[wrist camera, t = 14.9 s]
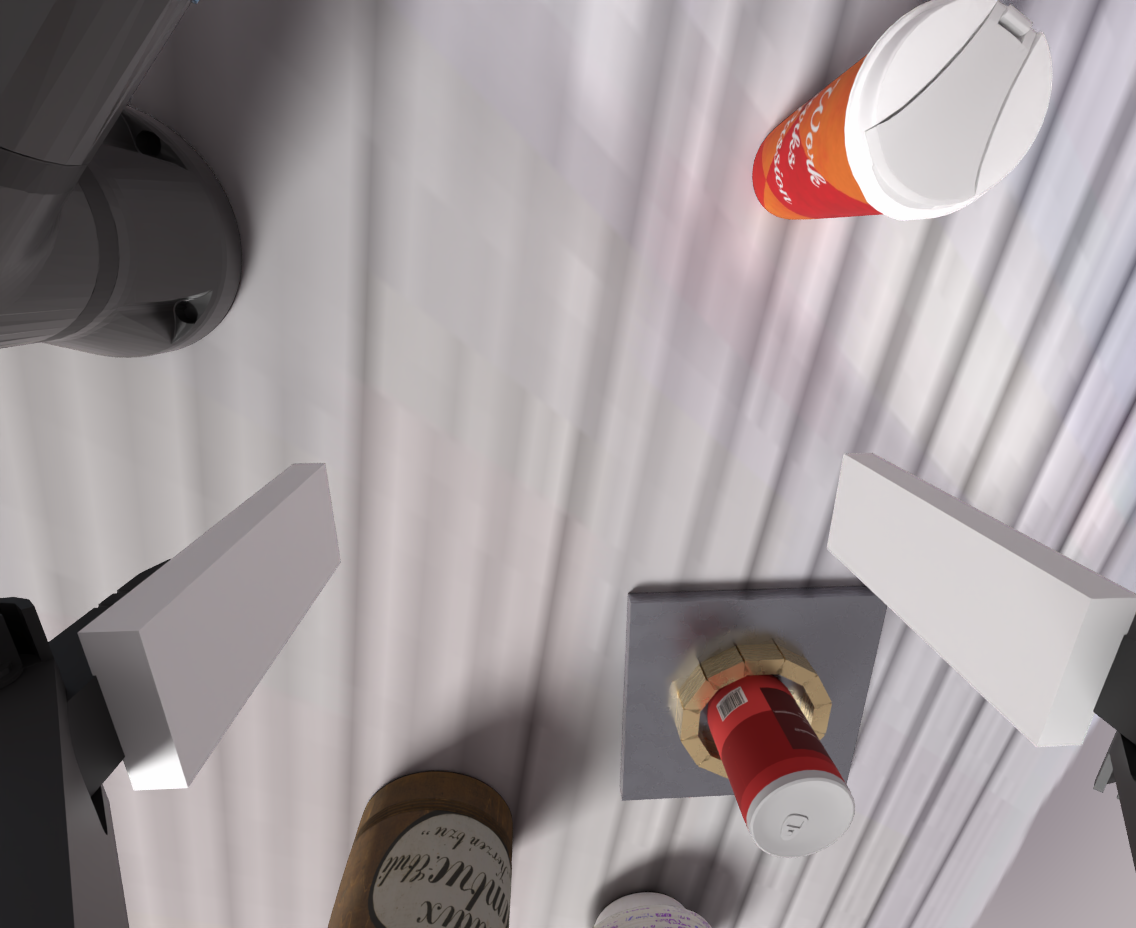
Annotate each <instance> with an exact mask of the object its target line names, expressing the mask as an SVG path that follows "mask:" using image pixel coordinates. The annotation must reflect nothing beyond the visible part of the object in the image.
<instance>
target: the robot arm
mask: <svg viewBox="0 0 1136 928" xmlns="http://www.w3.org/2000/svg"><path fill="white" fill-rule="evenodd" d="M198 1H199V0H0V348H6V347H13V346H19V345H26V344H32V343H39V342H42V343H47V344H51V345H56V346H60V347H65V348H69V349H74V350H79V351H83V352H88V353H92V354H97V355H102V356H109V357H127V358H131V357H144V356H151V355H155V354H160V353H165V352H170V351H174V350H178V349H181V348H184V347H186V346H189V345H191V344H193V343H195V342H197V341H198V340H200V339H202V338H203V337H205V336H206V335H207V334H209V333H210V332H211V331H212V330H213V329H214V328H215V327H216V326H217V325H218V324H219V323H220V322H221V320H222V319H223V318H224V317H225V315H226V313H227V312H228V310H229V309H230V307H231V305H232V303H233V300H234V298H235V295H236V292H237V289H238V285H239V281H240V275H241V265H242V253H241V242H240V236H239V231H238V227H237V223H236V219H235V216H234V213H233V211H232V208H231V205H230V203H229V201H228V199H227V196H226V194H225V193H224V191H223V189H222V187H221V185H220V183H219V182H218V180H217V178H216V177H215V175H214V174H213V173H212V171H211V170H210V168H209V167H208V166H207V164H206V163H205V162H204V161H203V159H202V158H201V157H200V156H199V155H198V154H197V152H196V151H195V150H194V149H193V148H192V147H191V146H190V145H189V144H188V143H186V142H185V141H184V140H183V139H182V138H181V137H180V136H179V135H177V134H176V133H175V132H174V131H172V130H171V129H170V128H168V127H167V126H165V125H164V124H162V123H161V122H159V121H158V120H156V119H154V118H153V117H151V116H149V115H147V114H145V113H143V112H141V111H139V110H137V109H134V108H132V107H129V106H127V103H128V101H129V100H130V98H131V97H132V95H133V93H134V92H135V90H136V89H137V87H138V86H139V84H140V82H141V81H142V79H143V78H144V76H145V74H146V73H147V71H148V70H149V68H150V66H151V65H152V63H153V62H154V60H155V59H156V57H157V55H158V54H159V52H160V51H161V49H162V47H163V46H164V44H165V43H166V41H167V40H168V38H169V36H170V35H171V33H172V32H173V30H174V28H175V27H176V25H177V24H178V22H179V20H180V19H181V17H182V16H183V14H184V13H185V11H186V9H187V8H188V6H189V5H190V3H191V2H192V3H195V4H197V3H198ZM827 549H828V550H829V551H830V552H831V553H832V554H833V555H834V556H835V557H836V558H837V559H838V560H839V561H841V562H842V563H843V564H844V565H845V566H846V567H847V568H848V569H849V570H850V571H851V572H852V573H853V574H854V575H855V576H856V577H857V578H858V579H860V580H861V581H862V582H863V583H864V584H865V585H866V586H867V587H868V588H869V589H870V590H871V591H872V592H873V593H874V594H875V595H876V596H877V597H879V598H880V599H881V600H882V601H883V602H884V603H885V604H886V605H887V606H888V607H889V608H890V609H891V610H892V611H893V612H894V613H895V614H896V615H897V616H899V617H900V618H901V619H902V620H903V621H904V622H905V623H906V624H907V625H908V626H909V627H910V628H911V629H912V630H913V631H914V632H915V633H916V634H918V635H919V636H920V637H921V638H922V639H923V640H924V641H925V642H926V643H927V644H928V645H929V646H930V647H931V648H932V649H933V650H934V651H935V652H937V653H938V654H939V655H940V656H941V657H942V658H943V659H944V660H945V661H946V662H947V663H948V664H949V665H950V666H951V667H952V668H953V669H954V670H956V671H957V672H958V673H959V674H960V675H961V676H962V677H963V678H964V679H965V680H966V681H967V682H968V683H969V684H970V685H971V686H972V687H973V688H975V689H976V690H977V691H978V692H979V693H980V694H981V695H982V696H983V697H984V698H985V699H986V700H987V701H988V702H989V703H990V704H991V705H992V706H994V707H995V708H996V709H997V710H998V711H999V712H1000V713H1001V714H1002V715H1003V716H1004V717H1005V718H1006V719H1007V720H1008V721H1009V722H1010V723H1011V724H1013V725H1014V726H1015V727H1016V728H1017V729H1018V730H1019V731H1020V732H1021V733H1022V734H1023V735H1024V736H1025V737H1026V738H1027V739H1028V740H1029V741H1030V742H1031V743H1033V744H1034V745H1035V746H1036V747H1049V746H1070V745H1082V743H1083V741H1084V738H1085V736H1086V733H1087V731H1088V729H1089V726H1090V724H1091V721H1092V719H1093V716H1094V714H1095V713H1096V714H1097V715H1098V716H1099V717H1101V718H1102V719H1103V720H1104V721H1106V722H1107V723H1109V724H1110V725H1111V726H1112V727H1113V728H1115V729H1116V730H1117V731H1116V733H1115V736H1114V738H1113V740H1112V743H1111V745H1110V747H1109V750H1108V752H1107V754H1106V757H1105V759H1104V761H1103V764H1102V766H1101V768H1100V770H1099V773H1098V775H1097V777H1096V780H1095V784H1094V788H1093V789H1095V790H1097V791H1100V792H1102V793H1103V791H1104V789H1105V787H1106V784H1110V783H1114V782H1116V785H1117V790H1118V795H1117V799H1119V800H1120V803H1121V808H1122V812H1123V817H1124V821H1125V826H1126V830H1127V835H1128V839H1129V844H1130V848H1131V853H1132V857H1133V862H1134V866H1135V870H1136V594H1135V593H1133V592H1131V591H1129V590H1128V589H1126V588H1124V587H1122V586H1120V585H1118V584H1116V583H1115V582H1113V581H1111V580H1109V579H1107V578H1105V577H1103V576H1101V575H1100V574H1098V573H1096V572H1094V571H1092V570H1090V569H1088V568H1086V567H1085V566H1083V565H1081V564H1079V563H1077V562H1075V561H1073V560H1072V559H1070V558H1068V557H1066V556H1064V555H1062V554H1060V553H1058V552H1057V551H1055V550H1053V549H1051V548H1049V547H1047V546H1045V545H1043V544H1042V543H1040V542H1038V541H1036V540H1034V539H1032V538H1030V537H1029V536H1027V535H1025V534H1023V533H1021V532H1019V531H1017V530H1015V529H1014V528H1012V527H1010V526H1008V525H1006V524H1004V523H1002V522H1000V521H999V520H997V519H995V518H993V517H991V516H989V515H987V514H986V513H984V512H982V511H980V510H978V509H976V508H974V507H972V506H971V505H969V504H967V503H965V502H963V501H961V500H959V499H957V498H956V497H954V496H952V495H950V494H948V493H946V492H944V491H943V490H941V489H939V488H937V487H935V486H933V485H931V484H929V483H928V482H926V481H924V480H922V479H920V478H918V477H916V476H914V475H913V474H911V473H909V472H907V471H905V470H903V469H901V468H900V467H898V466H896V465H894V464H892V463H890V462H888V461H886V460H885V459H883V458H881V457H879V456H877V455H875V454H873V453H846V454H844V455H843V461H842V466H841V472H840V478H839V483H838V489H837V494H836V500H835V506H834V511H833V517H832V523H831V528H830V534H829V539H828V545H827ZM340 563H341V559H340V553H339V547H338V540H337V534H336V528H335V521H334V515H333V509H332V502H331V496H330V490H329V484H328V477H327V471H326V465H325V463H298V464H292V465H291V466H290V467H288V468H287V469H286V470H285V471H283V472H282V473H281V474H279V475H278V476H277V477H276V478H274V479H273V480H272V481H270V482H269V483H268V484H267V485H265V486H264V487H263V488H262V489H260V490H259V491H258V492H256V493H255V494H254V495H253V496H251V497H250V498H249V499H247V500H246V501H245V502H244V503H242V504H241V505H240V506H239V507H237V508H236V509H235V510H233V511H232V512H231V513H230V514H228V515H227V516H226V517H225V518H223V519H222V520H221V521H219V522H218V523H217V524H216V525H214V526H213V527H212V528H210V529H209V530H208V531H207V532H205V533H204V534H203V535H202V536H200V537H199V538H198V539H196V540H195V541H194V542H193V543H191V544H190V545H189V546H187V547H186V548H185V549H184V550H182V551H181V552H180V553H179V554H177V555H176V556H175V557H173V558H172V559H169V560H167V561H164V562H162V563H160V564H158V565H156V566H154V567H152V568H150V569H148V570H146V571H144V572H142V573H140V574H138V575H137V576H136V577H134V578H133V579H132V580H130V581H129V582H128V583H126V584H125V585H124V586H122V587H121V588H120V589H118V590H117V594H112V595H110V596H109V597H108V598H106V599H105V600H104V601H102V602H101V603H100V604H99V607H98V608H93V609H92V610H91V611H89V612H88V613H87V614H85V615H84V616H83V617H81V618H80V619H79V620H77V621H76V622H75V623H73V624H72V625H71V626H69V627H68V628H67V629H65V630H64V631H63V632H61V633H60V634H59V635H58V636H56V637H55V638H54V639H52V640H51V641H50V642H48V641H47V638H46V636H45V633H44V630H43V628H42V625H41V623H40V620H39V617H38V615H37V612H36V610H35V607H34V605H33V604H32V603H31V602H30V600H29V599H23V598H17V597H9V598H0V928H129V923H128V917H127V910H126V904H125V898H124V892H123V885H122V879H121V873H120V867H119V860H118V854H117V848H116V841H115V835H114V829H113V823H112V816H111V810H110V804H109V800H108V797H107V795H106V792H105V790H104V787H103V784H102V783H103V782H104V781H105V780H106V779H107V778H108V776H109V775H110V774H111V773H112V772H113V771H114V769H115V768H116V767H117V766H118V765H119V763H120V762H121V761H122V760H123V761H124V764H125V767H126V770H127V772H128V775H129V778H130V781H131V784H132V786H133V789H134V790H153V789H174V788H188V787H189V786H190V784H191V783H192V781H193V780H194V778H195V777H196V775H197V774H198V772H199V771H200V769H201V768H202V766H203V765H204V763H205V762H206V760H207V759H208V757H209V756H210V755H211V753H212V752H213V750H214V749H215V747H216V746H217V744H218V743H219V741H220V740H221V738H222V737H223V735H224V734H225V732H226V731H227V729H228V728H229V726H230V725H231V724H232V722H233V721H234V719H235V718H236V716H237V715H238V713H239V712H240V710H241V709H242V707H243V706H244V704H245V703H246V701H247V700H248V698H249V697H250V695H251V694H252V693H253V691H254V690H255V688H256V687H257V685H258V684H259V682H260V681H261V679H262V678H263V676H264V675H265V673H266V672H267V670H268V669H269V667H270V666H271V664H272V663H273V661H274V660H275V659H276V657H277V656H278V654H279V653H280V651H281V650H282V648H283V647H284V645H285V644H286V642H287V641H288V639H289V638H290V636H291V635H292V633H293V632H294V630H295V629H296V628H297V626H298V625H299V623H300V622H301V620H302V619H303V617H304V616H305V614H306V613H307V611H308V610H309V608H310V607H311V605H312V604H313V602H314V601H315V599H316V598H317V597H318V595H319V594H320V592H321V591H322V589H323V588H324V586H325V585H326V583H327V582H328V580H329V579H330V577H331V576H332V574H333V573H334V571H335V570H336V568H337V567H338V566H339V564H340Z"/></svg>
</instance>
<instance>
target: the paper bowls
mask: <svg viewBox="0 0 1136 928" xmlns="http://www.w3.org/2000/svg"><path fill="white" fill-rule="evenodd" d="M593 928H712V927H711V926H710V924H709V923H708V922H707V921H706V920H705V919H704V918H703V917H702V916H700V915H699V914H697V913H695V912H694V911H690V910H687V909H685V908H684V906H683V905H682V904H681V903H679V902H678V901H676V900H675V899H673V898H671V897H669V896H667V895H664V894H660V893H653V892H642V893H635V894H631V895H627V896H624V897H622V898H620V899H617V900H616V901H614V902H612V903H611V904H610V905H608V906H607V907H606V908H605V909H604V910H603V911H602V912H601V914H600V915H599V917H598V918H597V920H596V923H595V925H594V927H593Z"/></svg>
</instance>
